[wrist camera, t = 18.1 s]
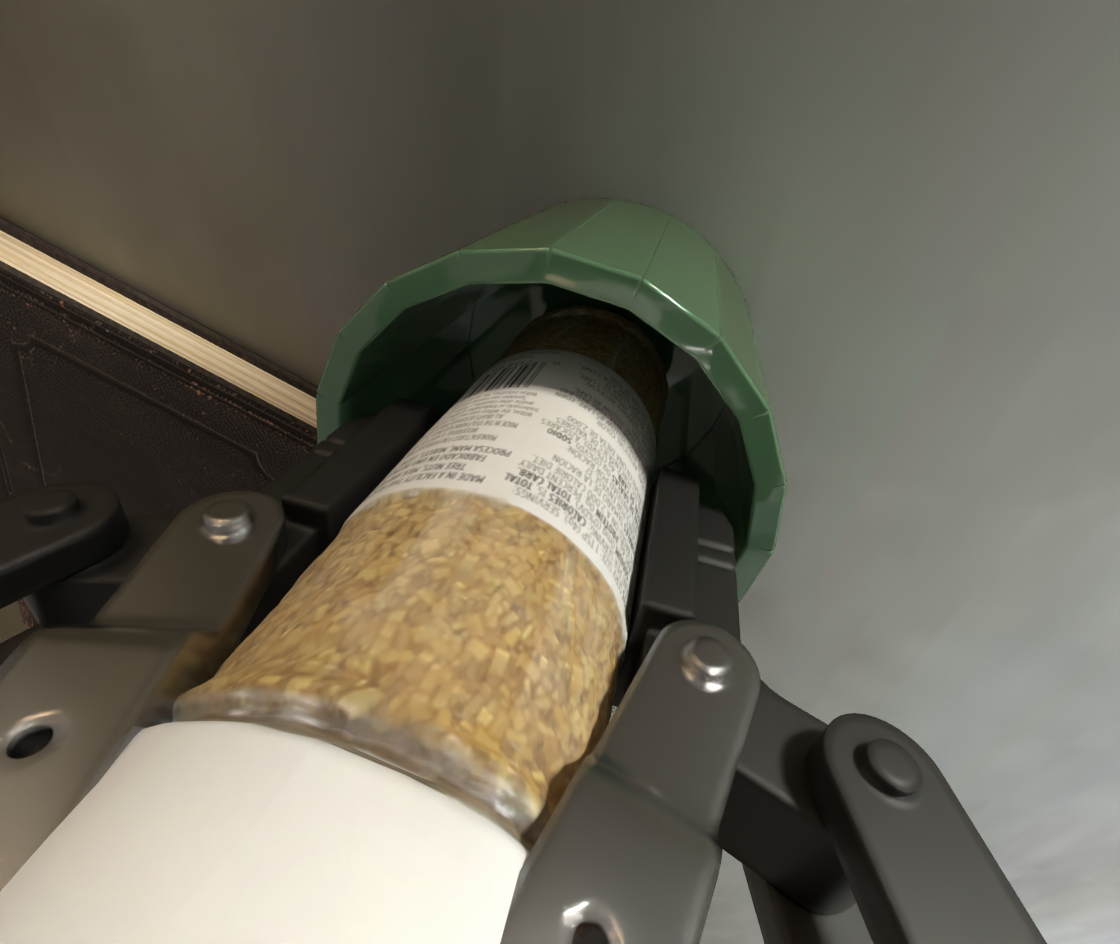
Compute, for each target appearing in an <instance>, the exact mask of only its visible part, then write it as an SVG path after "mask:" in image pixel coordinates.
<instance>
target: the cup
mask: <svg viewBox="0 0 1120 944" xmlns="http://www.w3.org/2000/svg"><path fill="white" fill-rule="evenodd" d="M573 305H581V306H591V307H597V308H603V309H606V310H608V311H610V312H613V313H616V314H619V315H621V316H623V317H625V318H626V319H628V320H629V321H631V322H632V323H634V324H636V325H638V326H639V327H640V328H641V330H642V331H643V332H644V333H645V334H646V336H647V337H648V338H649V339H650V340H651V341H652V343H653V344H654V345H655V347H656V349H657V351H658V353H659V356H660V358H661V359H662V362H663V364H664V369H665V374H666V378H667V381H668V395H667V400H666V405H665V412H664V414H663V417H662V420H661V422H660V425H659V427H658V431H657V437H656V460H655V468H654V475H653V481H652V488H651V492H652V489H653V486H654V483H655V480H656V477H657V474H658V471H659V468H660V466H664V467H668V468H672V469H676V470H680V471H683V472H687V473H691V474H695V475H699V477H700V490H699V503H701V504H704V505H708V506H712V507H716V508H719V509H721V510H722V512H723V513H724V515H725V517H726V518H727V520H728V521H729V523H730V525H731V526H732V528H733V531H734V547H735V551H734V554H735V563H736V568H735V572H736V579H737V595H738V603H739V602H740V601H741V600H742V599H743V597H744V596H745V594H746V593H747V591H748V590H749V588H750V587H751V585H752V584H753V582H754V581H755V579H756V578H757V576H758V575H759V573H760V572H761V570H762V569H763V567H764V566H765V564H766V563H767V561H768V560H769V558H770V557H771V555H772V554H773V550H774V549H775V546H776V540H777V535H778V530H779V525H780V520H781V514H782V509H783V504H784V499H785V494H786V488H787V487H786V482H787V481H786V476H785V471H784V467H783V462H782V457H781V453H780V448H779V444H778V439H777V434H776V430H775V425H774V421H773V416H772V411H771V407H770V403H769V398H768V394H767V390H766V386H765V381H764V377H763V373H762V368H761V364H760V360H759V355H758V351H757V347H756V343H755V338H754V334H753V330H752V325H751V321H750V317H749V312H748V308H747V304H746V300H745V298H744V294H743V293H742V291H741V290H740V288H739V286H738V284H737V282H736V280H735V277H734V276H733V274H732V273H731V271H730V270H729V268H728V266H727V265H726V263H725V262H724V260H723V259H722V258H721V256H720V255H719V254H718V253H717V252H716V251H715V250H714V248H713V247H712V246H711V245H710V244H709V243H708V242H707V241H706V240H705V239H704V238H703V237H701V236H700V235H699V234H698V233H697V232H695V231H694V230H693V229H692V228H691V227H689V226H688V225H686V224H684V223H683V222H681V221H679V220H678V219H676V218H675V217H673V216H671V215H669V214H667V213H664V212H662V211H660V210H658V209H655V208H653V207H651V206H647V205H643V204H639V203H636V202H632V201H627V200H618V199H609V198H599V199H582V200H577V201H571V202H563V203H559V204H556V205H554V206H552V207H549V208H547V209H545V210H542V211H540V212H538V213H536V214H533V215H531V216H529V217H526V218H524V219H522V220H519V221H517V222H515V223H513V224H510V225H508V226H506V227H504V228H502V229H499V230H497V231H495V232H493V233H491V234H489V235H486V236H484V237H482V238H480V239H478V240H475V241H473V242H471V243H469V244H467V245H464V246H462V247H460V248H458V249H456V250H453V251H451V252H449V253H447V254H445V255H442V256H440V257H438V258H436V259H434V260H431V261H429V262H427V263H425V264H423V265H420V266H418V267H416V268H414V269H412V270H409V271H407V272H405V273H403V274H401V275H398V276H396V277H394V278H392V279H390V280H388V282H386V283H384V284H383V285H382V286H381V287H380V288H379V289H378V290H377V291H376V292H375V293H374V294H373V295H372V296H371V297H370V298H369V299H368V301H367V302H366V303H365V304H364V305H363V306H362V307H361V308H360V309H359V310H358V311H357V312H356V313H355V314H354V315H353V316H352V318H351V319H350V320H349V321H348V322H347V323H346V324H345V325H344V326H343V327H342V328H341V329H340V331H339V334H337V336H336V339H335V341H334V344H333V347H332V350H331V352H330V355H329V358H328V361H327V364H326V366H325V369H324V372H323V375H322V378H321V380H320V383H319V386H318V389H317V395H316V416H317V444H319V443H320V442H321V441H322V440H324V441H325V440H326V437H327V436H329V435H330V434H331V433H332V432H334V431H335V430H336V429H337V428H339V427H340V426H341V425H342V424H344V423H346V422H349V421H352V420H354V419H357V418H360V417H362V416H365V415H368V414H369V415H373V416H377V415H378V414H379V413H380V412H381V411H382V410H384V409H385V408H386V407H387V406H388V405H389V404H391V403H392V402H393V401H394V400H395V399H397V398H399V397H402V398H406V399H410V400H414V401H418V402H421V403H425V404H429V405H433V406H436V407H437V408H438V409H439V412H440V419H441V418H442V416H443V415H444V414H445V413H446V412H447V411H448V410H449V409H450V408H451V407H452V406H453V405H454V404H455V403H456V402H457V401H458V400H459V399H460V398H461V397H462V395H463V394H464V393H465V392H466V391H467V390H468V389H469V388H470V387H471V386H472V385H473V384H474V383H475V381H476V380H477V379H478V378H479V377H480V376H481V375H482V374H483V373H484V372H485V371H487V370H488V369H489V368H490V367H491V366H493V365H494V364H496V363H497V362H499V361H500V360H501V358H502V357H503V356H504V355H505V354H506V353H507V351H508V349H509V347H510V345H511V343H512V341H513V340H514V338H515V337H516V336H517V334H518V333H519V332H521V331H522V330H523V329H524V328H525V327H526V325H527V324H528V323H530V322H531V321H532V320H534V319H535V318H536V317H539V316H542V315H545V314H547V313H549V312H550V311H552V310H555V309H560V308H565V307H568V306H573ZM650 495H651V494H650Z"/></svg>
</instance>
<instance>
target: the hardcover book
mask: <svg viewBox="0 0 1120 944" xmlns="http://www.w3.org/2000/svg"><path fill="white" fill-rule="evenodd" d="M317 389H318V388H317V387H315V386H313V385H312V384H310V383H308V382H306V381H304V380H302V379H300V378H298V377H297V376H295V375H293V374H291V373H289V372H287V371H285V370H283V369H282V368H280V367H278V366H276V365H274V364H272V363H270V362H269V361H267V360H265V359H263V358H261V357H259V356H257V355H255V354H254V353H252V352H250V351H248V350H246V349H244V348H242V347H240V346H239V345H237V344H235V343H233V342H231V341H229V340H227V339H226V338H224V337H222V336H220V335H218V334H216V333H214V332H212V331H211V330H209V329H207V328H205V327H203V326H201V325H199V324H197V323H196V322H194V321H192V320H190V319H188V318H186V317H184V316H183V315H181V314H179V313H177V312H175V311H173V310H171V309H169V308H168V307H166V306H164V305H162V304H160V303H158V302H156V301H154V300H153V299H151V298H149V297H147V296H145V295H143V294H141V293H140V292H138V291H136V290H134V289H132V288H130V287H128V286H126V285H125V284H123V283H121V282H119V281H117V280H115V279H113V278H111V277H110V276H108V275H106V274H104V273H102V272H100V271H98V270H97V269H95V268H93V267H91V266H89V265H87V264H85V263H83V262H82V261H80V260H78V259H76V258H74V257H72V256H70V255H68V254H67V253H65V252H63V251H61V250H59V249H57V248H55V247H54V246H52V245H50V244H48V243H46V242H44V241H42V240H40V239H39V238H37V237H35V236H33V235H31V234H29V233H27V232H25V231H24V230H22V229H20V228H18V227H16V226H14V225H12V224H11V223H9V222H7V221H5V220H3V219H1V218H0V501H1V500H4V499H7V498H9V497H12V496H15V495H18V494H20V493H23V492H26V491H29V490H32V489H35V488H38V487H42V486H46V485H50V484H56V483H62V482H71V481H86V482H95V483H100V484H103V485H106V486H108V487H110V488H112V489H113V490H114V491H115V492H116V493H117V495H118V497H119V500H120V502H121V505H122V507H123V510H124V512H125V515H147V516H171V517H176V516H177V515H178V514H179V513H180V512H181V511H183V510H184V509H185V508H187V507H188V506H190V505H191V504H193V503H195V502H197V501H199V500H201V499H203V498H206V497H209V496H212V495H216V494H220V493H225V492H231V491H252V492H259V491H260V490H261V489H262V488H264V487H265V486H266V485H267V484H269V483H270V482H271V481H272V480H274V479H275V478H276V477H277V476H279V475H280V474H281V473H282V472H284V471H285V470H286V469H287V468H289V467H290V466H291V465H292V464H294V463H295V462H296V461H297V460H299V459H300V458H301V457H302V456H304V455H305V454H306V453H307V452H310V453H311V451H312V448H314V447H315V446H316V445H317V416H316V395H317ZM18 604H19V608H20V611H21V615H22V618H23V621H24V624H26V625H28V626H30V627H33V626H35V625H37V624H38V622H37V621H36V619H35V618H34V616H33V614H32V613H31V611H30V609H29V608H28V606H27V605H26V603H25V601H24V600H23V598H22V599H20V600H18Z"/></svg>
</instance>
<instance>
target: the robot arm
mask: <svg viewBox="0 0 1120 944" xmlns="http://www.w3.org/2000/svg"><path fill="white" fill-rule="evenodd" d="M439 420H440V412H439V409H438V408H437V407H436V406H433V405H429V404H425V403H421V402H418V401H414V400H410V399H406V398H402V397H399V398H397V399H395V400H394V401H393V402H392V403H391V404H389V405H388V406H387V407H386V408H385V409H384V410H382V411H381V412H380V413H379V414H378V415H377V416H373V415H369V414H368V415H365V416H362V417H360V418H357V419H354V420H352V421H349V422H346V423H344V424H342V425H341V426H340V427H339V428H337V429H336V430H335V431H334V432H332V433H331V434H330V435H329V436H327V437H326V440H325V441H324V440H322V441H321V442H320V443H319V444H317V445H316V446H315V447H314V448H312V451H311V453H310V452H307V453H306V454H305V455H304V456H302V457H301V458H300V459H299V460H297V461H296V462H295V463H294V464H292V465H291V466H290V467H289V468H287V469H286V470H285V471H284V472H282V473H281V474H280V475H279V476H277V477H276V478H275V479H274V480H272V481H271V482H270V483H269V484H267V485H266V486H265V487H264V488H262V489H261V490H260V491H259V492H252V491H231V492H225V493H220V494H216V495H212V496H209V497H206V498H203V499H201V500H199V501H197V502H195V503H193V504H191V505H190V506H188V507H187V508H185V509H184V510H183V511H181V512H180V513H179V514H178V515H177V516H176V517H171V516H147V515H125V512H124V510H123V507H122V505H121V502H120V500H119V497H118V495H117V493H116V492H115V491H114V490H113V489H112V488H110V487H108V486H106V485H103V484H100V483H95V482H86V481H71V482H62V483H56V484H50V485H46V486H42V487H38V488H35V489H32V490H29V491H26V492H23V493H20V494H18V495H15V496H12V497H9V498H7V499H4V500H1V501H0V609H1V608H3V607H5V606H7V605H9V604H11V603H14V602H16V601H18V600H20V599H22V598H23V600H24V601H25V603H26V605H27V606H28V608H29V609H30V611H31V613H32V614H33V616H34V618H35V619H36V621H37V622H38V624H37V625H35V626H33V627H31V628H29V629H27V630H25V631H23V632H22V633H20V634H18V635H16V636H14V637H12V638H10V639H8V640H6V641H4V642H2V643H0V891H1V890H2V889H3V888H4V887H5V886H6V884H7V883H8V882H9V881H10V880H11V879H12V878H13V877H14V875H15V874H16V873H17V872H18V871H19V870H20V869H21V867H22V866H23V865H24V864H25V863H26V862H27V861H28V860H29V858H30V857H31V856H32V855H33V854H34V853H35V852H36V850H37V849H38V848H39V847H40V846H41V845H42V844H43V842H44V841H45V840H46V839H47V838H48V837H49V836H50V835H51V834H52V832H53V831H54V830H55V829H56V828H57V827H58V826H59V825H60V824H61V823H62V822H63V820H64V819H65V818H66V817H67V816H68V815H69V814H70V813H71V812H72V811H73V810H74V808H75V807H76V806H77V805H78V804H79V803H80V802H81V801H82V800H83V799H84V798H85V796H86V795H87V794H88V793H89V792H90V791H91V790H92V789H93V788H94V787H95V786H96V784H97V783H98V782H99V781H100V780H101V779H102V777H103V776H104V775H105V773H106V772H107V771H108V769H109V768H110V767H111V765H112V764H113V763H114V762H115V760H116V759H117V758H118V757H119V755H120V754H121V753H122V752H123V750H124V749H125V748H126V747H127V745H128V744H129V743H130V742H131V740H132V739H133V738H134V737H135V736H136V735H137V734H138V733H139V732H140V731H141V730H142V729H145V728H148V727H152V726H156V725H160V724H164V723H172V722H173V706H174V703H175V701H176V700H177V698H178V697H179V696H180V695H182V694H183V693H185V692H187V691H189V690H191V689H193V688H195V687H197V686H199V685H202V684H204V683H205V682H207V681H208V680H210V679H211V678H213V677H214V676H215V674H216V672H217V671H218V669H219V668H220V666H221V665H222V664H223V663H224V662H225V661H226V660H227V659H228V657H229V656H230V655H231V654H232V653H233V652H234V651H235V649H236V648H237V647H238V646H239V645H240V644H241V643H242V642H243V641H244V640H245V639H246V638H247V637H248V636H249V635H250V634H251V633H252V632H253V631H254V630H255V629H256V628H257V627H258V626H259V625H260V624H261V623H262V622H263V620H264V619H265V618H266V617H267V615H268V614H269V613H270V612H271V611H272V610H273V609H274V608H276V607H277V606H278V605H279V603H280V601H281V600H282V599H283V598H284V596H285V595H286V594H287V593H288V592H289V591H290V589H291V588H292V587H293V585H294V584H295V583H296V581H297V580H298V578H299V577H300V576H301V575H302V574H303V573H304V572H305V570H306V569H307V568H308V567H309V566H310V565H311V564H312V563H313V562H314V561H315V560H316V559H317V558H318V557H319V556H320V555H321V554H322V553H323V552H324V551H325V550H326V548H327V547H328V546H329V545H330V544H331V543H332V542H333V540H334V539H335V538H336V537H337V536H338V534H339V532H340V530H341V528H342V526H343V525H344V523H345V521H346V520H347V519H348V518H349V517H350V515H351V514H352V513H353V512H354V511H355V510H356V509H357V508H358V506H359V505H360V504H361V503H362V502H363V501H364V500H365V499H366V498H367V497H368V496H369V495H370V494H371V493H372V492H373V490H374V489H375V488H376V487H377V486H378V485H379V484H380V483H381V482H382V481H383V480H384V479H385V477H386V476H387V475H388V474H389V473H390V472H391V471H392V470H393V469H394V468H395V467H396V466H397V464H398V463H399V462H400V461H401V460H402V459H403V458H404V457H405V456H406V454H407V453H408V452H409V451H410V450H411V449H412V448H413V447H414V446H415V445H416V444H417V442H418V441H419V440H420V439H421V438H422V437H423V436H424V435H425V434H426V433H427V432H428V431H429V430H430V429H431V428H432V427H433V426H434V425H435V424H436V423H437V422H438V421H439ZM699 490H700V477H699V475H695V474H691V473H687V472H683V471H680V470H676V469H672V468H668V467H664V466H660V468H659V471H658V474H657V477H656V480H655V483H654V486H653V489H652V492H651V495H650V503H649V509H648V515H647V521H646V527H645V533H644V539H643V544H642V550H641V557H640V563H639V570H638V576H637V583H636V589H635V596H634V602H633V608H632V614H631V620H630V627H629V633H628V638H627V644H626V650H625V657H624V660H623V663H622V666H621V668H620V670H619V671H618V676H617V684H616V691H615V695H614V700H613V704H612V705H614V706H617V707H618V708H617V709H616V711H615V713H614V715H613V717H612V718H611V720H610V722H609V724H608V726H607V727H606V729H605V731H604V733H603V735H602V736H601V738H600V740H599V742H598V744H597V745H596V747H595V749H594V750H593V752H592V753H591V754H588V755H587V756H586V757H585V759H584V760H583V762H582V763H581V765H580V766H579V768H578V770H577V771H576V773H575V775H574V776H573V778H572V780H571V782H570V783H569V785H568V787H567V789H566V790H565V792H564V794H563V796H562V797H561V799H560V801H559V803H558V804H557V806H556V808H555V810H554V812H553V813H552V815H551V817H550V819H549V820H548V822H547V824H546V826H545V827H544V829H543V831H542V833H541V835H540V836H539V838H538V840H537V842H536V843H535V845H534V847H533V849H532V850H531V852H530V854H529V856H528V857H527V859H526V861H525V863H524V865H523V866H522V868H521V870H520V872H519V875H518V878H517V882H516V886H515V890H514V893H513V897H512V901H511V905H510V908H509V912H508V916H507V920H506V923H505V927H504V931H503V935H502V938H501V942H500V944H699V943H700V939H701V936H702V932H703V928H704V925H705V921H706V918H707V914H708V910H709V907H710V903H711V900H712V896H713V893H714V889H715V885H716V882H717V878H718V874H719V869H720V865H721V859H722V849H724V850H725V851H726V852H728V853H729V854H730V855H732V856H733V857H734V858H736V859H737V860H739V861H740V862H741V863H742V865H743V869H744V872H745V876H746V879H747V883H748V887H749V890H750V894H751V897H752V901H753V904H754V908H755V911H756V915H757V918H758V922H759V925H760V929H761V932H762V936H763V940H764V943H765V944H1047V943H1046V941H1045V940H1044V938H1043V937H1042V935H1041V933H1040V932H1039V930H1038V928H1037V927H1036V925H1035V924H1034V922H1033V920H1032V919H1031V917H1030V915H1029V914H1028V912H1027V911H1026V909H1025V907H1024V906H1023V904H1022V902H1021V901H1020V899H1019V898H1018V896H1017V894H1016V893H1015V891H1014V890H1013V888H1012V886H1011V885H1010V883H1009V881H1008V880H1007V878H1006V877H1005V875H1004V873H1003V872H1002V870H1001V868H1000V867H999V865H998V864H997V862H996V860H995V859H994V857H993V855H992V854H991V852H990V851H989V849H988V847H987V846H986V844H985V842H984V841H983V839H982V838H981V836H980V834H979V833H978V831H977V830H976V828H975V826H974V825H973V823H972V821H971V820H970V818H969V817H968V815H967V813H966V812H965V810H964V808H963V807H962V805H961V804H960V802H959V800H958V799H957V797H956V795H955V794H954V792H953V791H952V789H951V787H950V786H949V784H948V783H947V781H946V779H945V778H944V776H943V774H942V773H941V771H940V770H939V768H938V767H937V766H936V764H935V763H934V761H933V760H932V759H931V758H930V757H929V755H928V754H927V753H926V752H925V751H924V750H923V749H922V748H921V747H920V746H919V745H918V744H917V743H916V742H915V741H914V740H912V739H911V738H910V737H909V736H908V735H906V734H905V733H903V732H902V731H900V730H899V729H898V728H896V727H894V726H893V725H891V724H889V723H887V722H885V721H883V720H880V719H878V718H876V717H872V716H869V715H865V714H857V713H852V714H845V715H841V716H839V717H837V718H835V719H834V720H833V721H832V722H831V723H830V724H829V725H827V724H825V723H824V722H822V721H820V720H819V719H817V718H815V717H814V716H812V715H810V714H808V713H807V712H805V711H803V710H802V709H800V708H798V707H797V706H795V705H793V704H792V703H790V702H788V701H787V700H785V699H784V698H782V697H781V696H779V695H778V694H776V693H775V692H774V691H773V690H772V689H770V688H769V687H768V686H767V685H766V684H765V683H764V682H763V681H762V680H761V679H760V674H759V670H758V667H757V665H756V663H755V660H754V659H753V657H752V656H751V654H750V652H749V651H748V650H747V649H746V648H745V646H744V645H743V644H742V643H741V640H740V626H739V611H738V595H737V579H736V572H735V568H736V563H735V554H734V551H735V547H734V531H733V528H732V526H731V525H730V523H729V521H728V520H727V518H726V517H725V515H724V513H723V512H722V510H721V509H719V508H716V507H712V506H708V505H704V504H701V503H699Z"/></svg>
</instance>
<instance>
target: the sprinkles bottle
mask: <svg viewBox="0 0 1120 944" xmlns="http://www.w3.org/2000/svg"><path fill="white" fill-rule="evenodd" d="M667 395H668V381H667V378H666V374H665V369H664V364H663V362H662V359H661V358H660V356H659V353H658V351H657V349H656V347H655V345H654V344H653V343H652V341H651V340H650V339H649V338H648V337H647V336H646V334H645V333H644V332H643V331H642V330H641V328H640V327H639V326H638V325H636V324H634V323H632V322H631V321H629V320H628V319H626V318H625V317H623V316H621V315H619V314H616V313H613V312H610V311H608V310H606V309H603V308H597V307H591V306H581V305H573V306H568V307H565V308H560V309H555V310H552V311H550V312H549V313H547V314H545V315H542V316H539V317H536V318H535V319H534V320H532V321H531V322H530V323H528V324H527V325H526V327H525V328H524V329H523V330H522V331H521V332H519V333H518V334H517V336H516V337H515V338H514V340H513V341H512V343H511V345H510V347H509V349H508V351H507V353H506V354H505V355H504V356H503V357H502V358H501V360H500V361H499V362H497V363H496V364H494V365H493V366H491V367H490V368H489V369H488V370H487V371H485V372H484V373H483V374H482V375H481V376H480V377H479V378H478V379H477V380H476V381H475V383H474V384H473V385H472V386H471V387H470V388H469V389H468V390H467V391H466V392H465V393H464V394H463V395H462V397H461V398H460V399H459V400H458V401H457V402H456V403H455V404H454V405H453V406H452V407H451V408H450V409H449V410H448V411H447V412H446V413H445V414H444V415H443V416H442V418H441V419H440V420H439V421H438V422H437V423H436V424H435V425H434V426H433V427H432V428H431V429H430V430H429V431H428V432H427V433H426V434H425V435H424V436H423V437H422V438H421V439H420V440H419V441H418V442H417V444H416V445H415V446H414V447H413V448H412V449H411V450H410V451H409V452H408V453H407V454H406V456H405V457H404V458H403V459H402V460H401V461H400V462H399V463H398V464H397V466H396V467H395V468H394V469H393V470H392V471H391V472H390V473H389V474H388V475H387V476H386V477H385V479H384V480H383V481H382V482H381V483H380V484H379V485H378V486H377V487H376V488H375V489H374V490H373V492H372V493H371V494H370V495H369V496H368V497H367V498H366V499H365V500H364V501H363V502H362V503H361V504H360V505H359V506H358V508H357V509H356V510H355V511H354V512H353V513H352V514H351V515H350V517H349V518H348V519H347V520H346V521H345V523H344V525H343V526H342V528H341V530H340V532H339V534H338V536H337V537H336V538H335V539H334V540H333V542H332V543H331V544H330V545H329V546H328V547H327V548H326V550H325V551H324V552H323V553H322V554H321V555H320V556H319V557H318V558H317V559H316V560H315V561H314V562H313V563H312V564H311V565H310V566H309V567H308V568H307V569H306V570H305V572H304V573H303V574H302V575H301V576H300V577H299V578H298V580H297V581H296V583H295V584H294V585H293V587H292V588H291V589H290V591H289V592H288V593H287V594H286V595H285V596H284V598H283V599H282V600H281V601H280V603H279V605H278V606H277V607H276V608H274V609H273V610H272V611H271V612H270V613H269V614H268V615H267V617H266V618H265V619H264V620H263V622H262V623H261V624H260V625H259V626H258V627H257V628H256V629H255V630H254V631H253V632H252V633H251V634H250V635H249V636H248V637H247V638H246V639H245V640H244V641H243V642H242V643H241V644H240V645H239V646H238V647H237V648H236V649H235V651H234V652H233V653H232V654H231V655H230V656H229V657H228V659H227V660H226V661H225V662H224V663H223V664H222V665H221V666H220V668H219V669H218V671H217V672H216V674H215V676H214V677H213V678H211V679H210V680H208V681H207V682H205V683H204V684H202V685H199V686H197V687H195V688H193V689H191V690H189V691H187V692H185V693H183V694H182V695H180V696H179V697H178V698H177V700H176V701H175V703H174V706H173V722H172V723H164V724H160V725H156V726H152V727H148V728H145V729H142V730H141V731H140V732H139V733H138V734H137V735H136V736H135V737H134V738H133V739H132V740H131V742H130V743H129V744H128V745H127V747H126V748H125V749H124V750H123V752H122V753H121V754H120V755H119V757H118V758H117V759H116V760H115V762H114V763H113V764H112V765H111V767H110V768H109V769H108V771H107V772H106V773H105V775H104V776H103V777H102V779H101V780H100V781H99V782H98V783H97V784H96V786H95V787H94V788H93V789H92V790H91V791H90V792H89V793H88V794H87V795H86V796H85V798H84V799H83V800H82V801H81V802H80V803H79V804H78V805H77V806H76V807H75V808H74V810H73V811H72V812H71V813H70V814H69V815H68V816H67V817H66V818H65V819H64V820H63V822H62V823H61V824H60V825H59V826H58V827H57V828H56V829H55V830H54V831H53V832H52V834H51V835H50V836H49V837H48V838H47V839H46V840H45V841H44V842H43V844H42V845H41V846H40V847H39V848H38V849H37V850H36V852H35V853H34V854H33V855H32V856H31V857H30V858H29V860H28V861H27V862H26V863H25V864H24V865H23V866H22V867H21V869H20V870H19V871H18V872H17V873H16V874H15V875H14V877H13V878H12V879H11V880H10V881H9V882H8V883H7V884H6V886H5V887H4V888H3V889H2V890H1V891H0V944H500V942H501V938H502V935H503V931H504V927H505V923H506V920H507V916H508V912H509V908H510V905H511V901H512V897H513V893H514V890H515V886H516V882H517V878H518V875H519V872H520V870H521V868H522V866H523V865H524V863H525V861H526V859H527V857H528V856H529V854H530V852H531V850H532V849H533V847H534V845H535V843H536V842H537V840H538V838H539V836H540V835H541V833H542V831H543V829H544V827H545V826H546V824H547V822H548V820H549V819H550V817H551V815H552V813H553V812H554V810H555V808H556V806H557V804H558V803H559V801H560V799H561V797H562V796H563V794H564V792H565V790H566V789H567V787H568V785H569V783H570V782H571V780H572V778H573V776H574V775H575V773H576V771H577V770H578V768H579V766H580V765H581V763H582V762H583V760H584V759H585V757H586V756H587V755H588V754H591V753H592V752H593V750H594V749H595V747H596V745H597V744H598V742H599V740H600V738H601V736H602V735H603V733H604V731H605V729H606V727H607V726H608V724H609V719H610V717H611V711H612V704H613V700H614V695H615V691H616V684H617V676H618V671H619V670H620V668H621V666H622V663H623V660H624V657H625V650H626V644H627V638H628V633H629V627H630V620H631V614H632V608H633V602H634V596H635V589H636V583H637V576H638V570H639V563H640V557H641V550H642V544H643V539H644V533H645V527H646V521H647V515H648V509H649V503H650V494H651V488H652V481H653V475H654V468H655V460H656V437H657V431H658V427H659V425H660V422H661V420H662V417H663V414H664V412H665V405H666V400H667Z"/></svg>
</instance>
